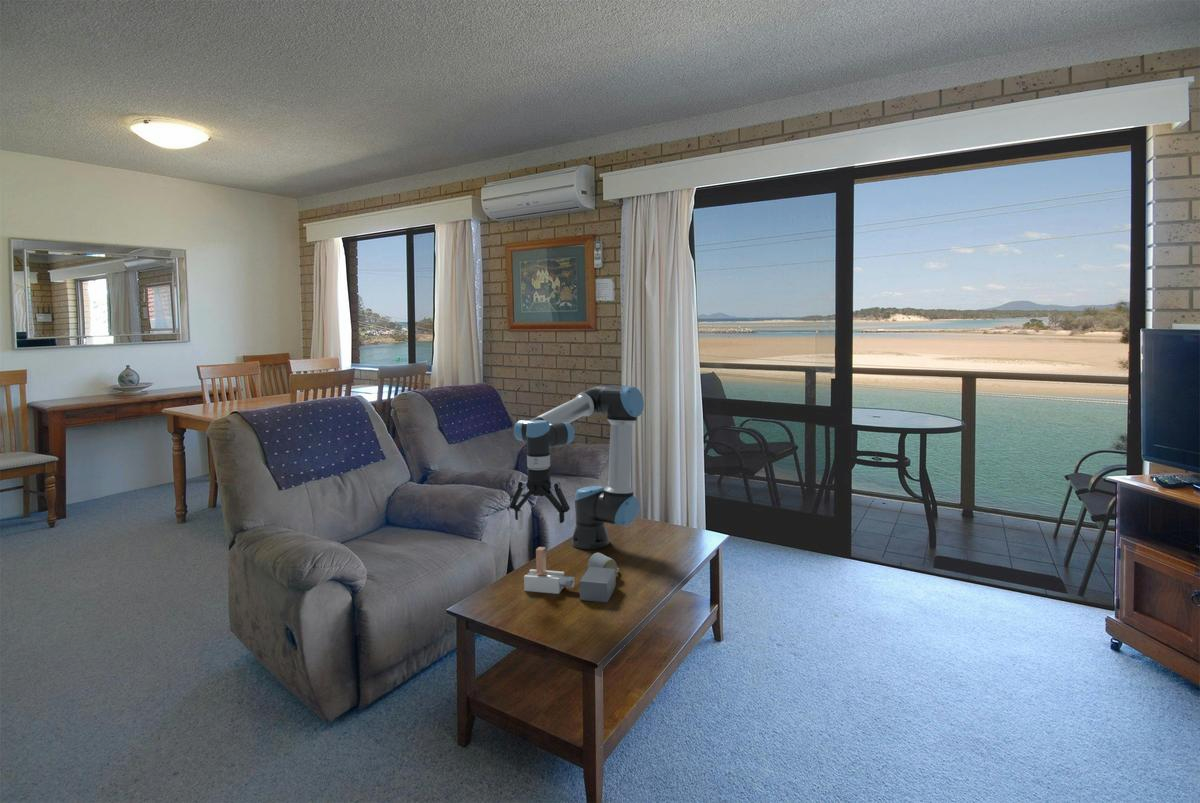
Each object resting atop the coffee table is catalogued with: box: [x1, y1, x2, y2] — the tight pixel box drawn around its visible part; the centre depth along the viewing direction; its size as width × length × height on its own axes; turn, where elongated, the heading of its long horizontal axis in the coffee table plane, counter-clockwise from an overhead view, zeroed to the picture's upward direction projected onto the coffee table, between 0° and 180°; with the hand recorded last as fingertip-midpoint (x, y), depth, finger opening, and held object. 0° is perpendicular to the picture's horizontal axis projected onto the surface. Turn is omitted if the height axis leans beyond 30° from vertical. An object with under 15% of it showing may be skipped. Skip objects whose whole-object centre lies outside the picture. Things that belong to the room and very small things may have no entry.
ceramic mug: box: [587, 552, 620, 574], centre depth 216 cm, size 11×8×8 cm
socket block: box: [579, 567, 617, 603], centre depth 201 cm, size 12×9×6 cm
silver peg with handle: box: [526, 546, 575, 588], centre depth 204 cm, size 3×16×12 cm, turn 77°
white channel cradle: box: [523, 568, 565, 595], centre depth 205 cm, size 6×12×5 cm, turn 76°
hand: (539, 530), depth 203 cm, fingers open, 13 cm apart
